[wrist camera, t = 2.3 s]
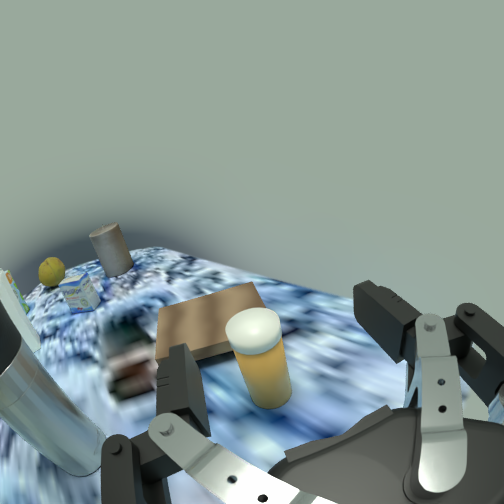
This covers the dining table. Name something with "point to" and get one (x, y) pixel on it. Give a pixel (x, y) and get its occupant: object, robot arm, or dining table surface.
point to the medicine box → (79, 293)
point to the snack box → (16, 292)
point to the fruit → (51, 272)
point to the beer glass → (261, 356)
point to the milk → (18, 314)
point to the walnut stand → (203, 321)
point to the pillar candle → (111, 250)
